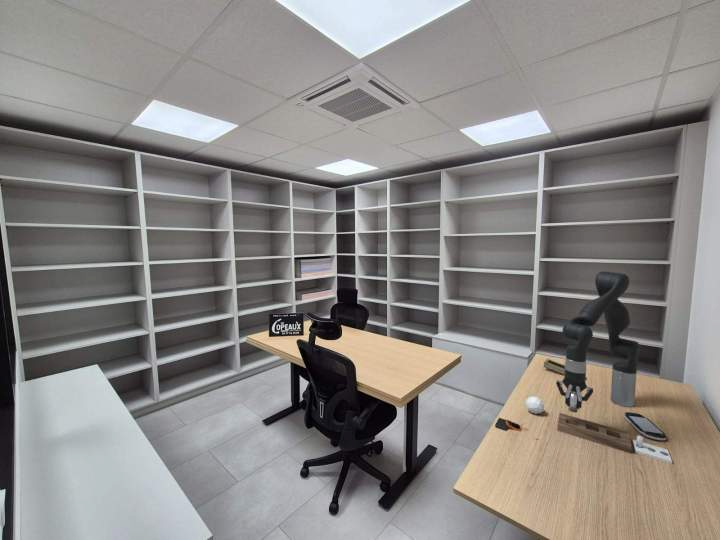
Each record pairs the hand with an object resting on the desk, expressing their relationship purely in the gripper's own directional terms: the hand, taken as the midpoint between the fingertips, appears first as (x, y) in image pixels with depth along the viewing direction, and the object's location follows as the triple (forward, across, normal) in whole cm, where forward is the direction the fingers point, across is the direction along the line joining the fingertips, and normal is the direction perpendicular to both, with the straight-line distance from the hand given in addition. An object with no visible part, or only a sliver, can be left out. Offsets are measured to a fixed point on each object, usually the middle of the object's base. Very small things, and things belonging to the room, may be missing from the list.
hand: (573, 406), depth 131 cm
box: (+10, +6, -65) cm, 66 cm away
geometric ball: (+10, +15, -5) cm, 19 cm away
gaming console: (+11, -26, -20) cm, 34 cm away
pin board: (+10, -7, 0) cm, 12 cm away
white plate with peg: (+10, -26, 0) cm, 27 cm away
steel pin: (+2, 0, 0) cm, 2 cm away
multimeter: (+11, +19, +14) cm, 26 cm away
